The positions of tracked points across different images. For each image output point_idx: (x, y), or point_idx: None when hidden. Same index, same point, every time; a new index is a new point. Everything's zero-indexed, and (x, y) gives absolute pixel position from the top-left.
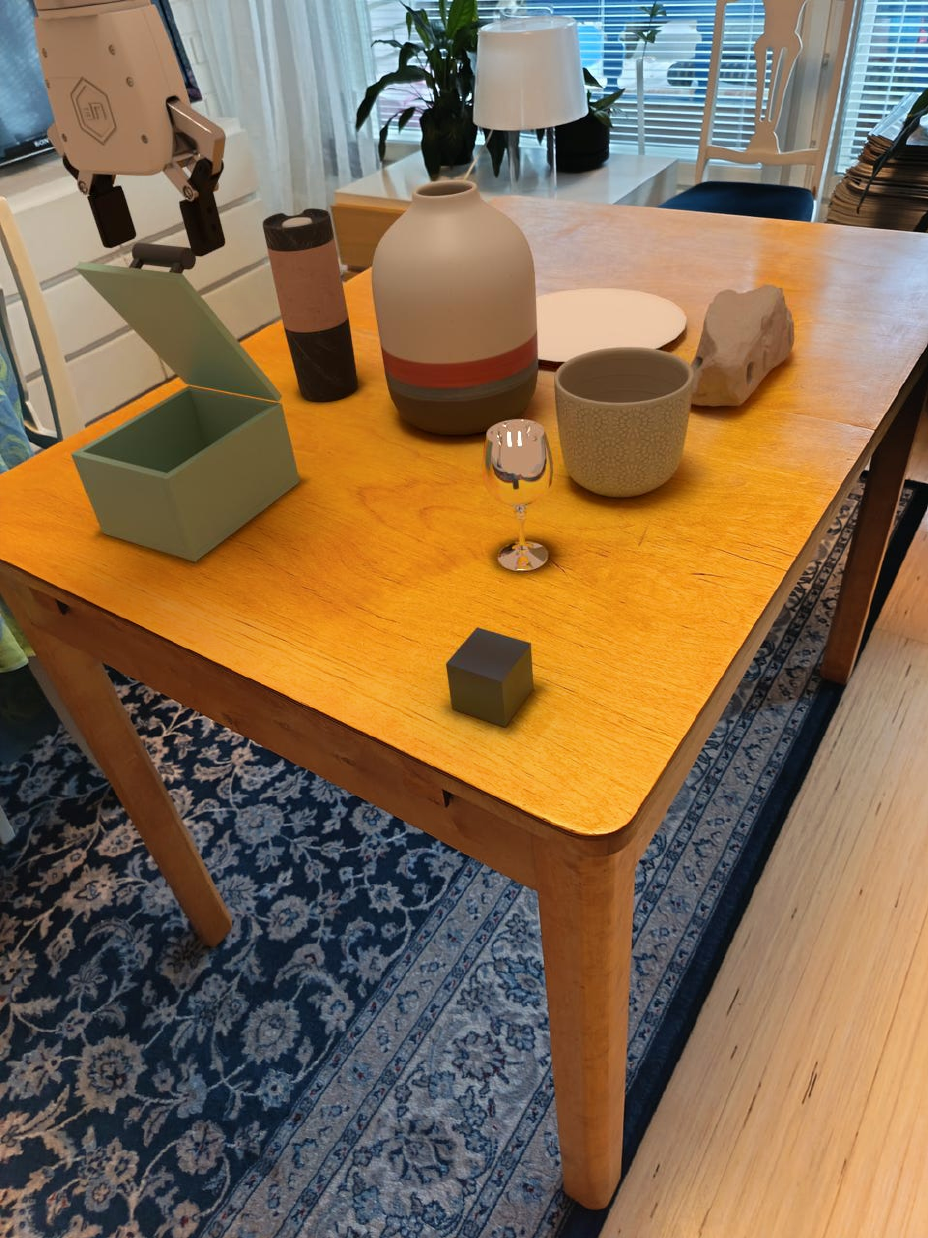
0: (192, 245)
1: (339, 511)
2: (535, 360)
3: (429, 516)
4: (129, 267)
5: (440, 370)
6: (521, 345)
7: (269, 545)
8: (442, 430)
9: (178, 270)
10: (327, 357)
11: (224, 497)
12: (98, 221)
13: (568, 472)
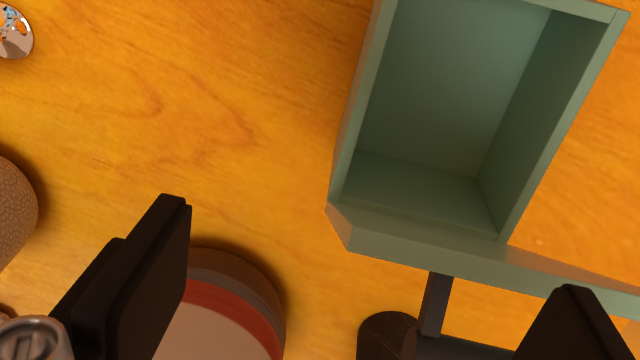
0: (163, 209)
1: (254, 91)
2: None
3: (146, 95)
4: None
5: None
6: None
7: (306, 4)
8: (200, 247)
9: (423, 316)
10: (372, 356)
11: (367, 37)
12: (613, 349)
13: (16, 171)
